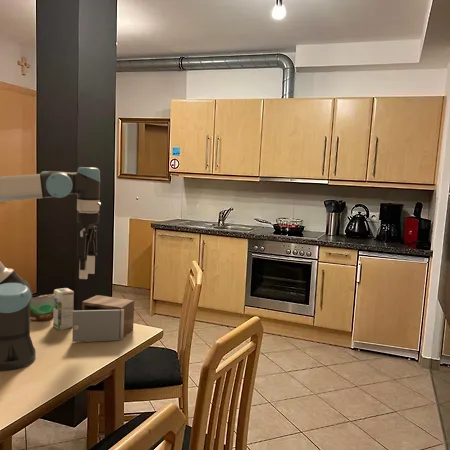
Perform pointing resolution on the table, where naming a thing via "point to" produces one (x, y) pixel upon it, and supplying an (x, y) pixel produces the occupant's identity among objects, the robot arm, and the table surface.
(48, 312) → the food container
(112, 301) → the cabinet
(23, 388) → the table surface
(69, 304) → the syrup box
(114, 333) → the door
